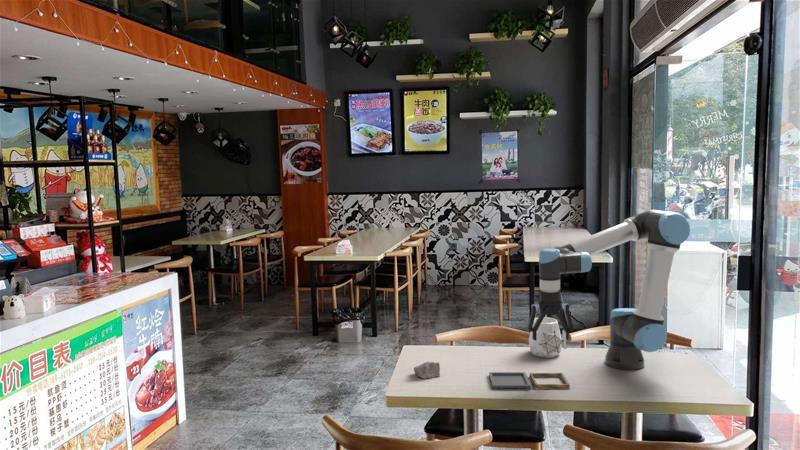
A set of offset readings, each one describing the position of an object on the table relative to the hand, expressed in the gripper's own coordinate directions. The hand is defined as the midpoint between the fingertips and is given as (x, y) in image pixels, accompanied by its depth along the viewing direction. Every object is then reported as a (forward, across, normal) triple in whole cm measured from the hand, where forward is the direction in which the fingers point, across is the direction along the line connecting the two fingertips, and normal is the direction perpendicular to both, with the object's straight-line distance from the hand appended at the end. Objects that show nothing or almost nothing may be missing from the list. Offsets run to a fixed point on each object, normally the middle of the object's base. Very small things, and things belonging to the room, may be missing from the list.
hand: (550, 348), depth 228 cm
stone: (+13, +47, -7) cm, 49 cm away
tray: (+13, +16, 0) cm, 21 cm away
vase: (+14, -4, -34) cm, 37 cm away
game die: (+2, 0, 0) cm, 2 cm away
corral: (+13, +1, 0) cm, 13 cm away
